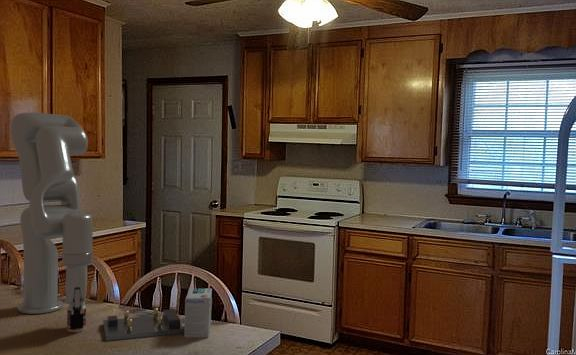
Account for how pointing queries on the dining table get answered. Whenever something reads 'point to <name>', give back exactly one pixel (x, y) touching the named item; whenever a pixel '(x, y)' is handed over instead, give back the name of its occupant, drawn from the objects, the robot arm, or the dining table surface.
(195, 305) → the light bulb box
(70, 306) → the pill bottle
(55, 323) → the dining table surface
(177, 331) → the chassis
